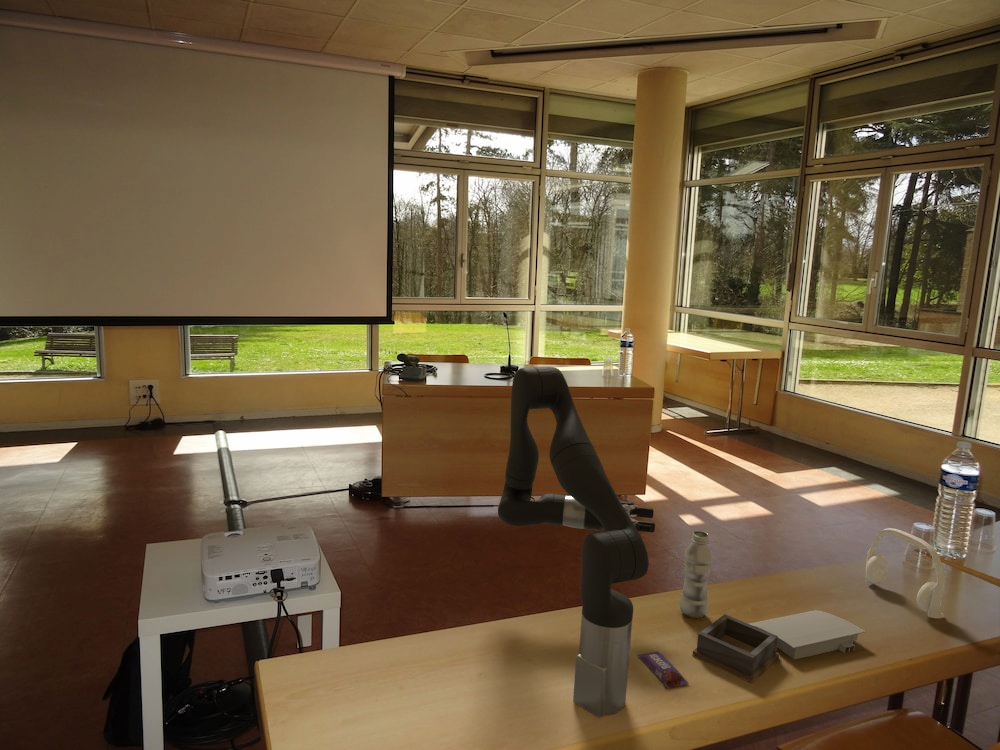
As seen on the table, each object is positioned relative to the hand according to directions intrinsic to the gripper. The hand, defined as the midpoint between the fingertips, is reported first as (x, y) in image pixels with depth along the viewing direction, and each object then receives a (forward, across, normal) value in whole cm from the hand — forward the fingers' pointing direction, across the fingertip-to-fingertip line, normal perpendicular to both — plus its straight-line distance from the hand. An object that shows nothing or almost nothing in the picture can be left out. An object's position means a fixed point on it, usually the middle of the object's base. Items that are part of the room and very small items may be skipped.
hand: (654, 520), depth 162 cm
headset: (+63, +20, +22) cm, 70 cm away
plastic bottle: (+11, 0, +22) cm, 25 cm away
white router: (+35, -5, +23) cm, 42 cm away
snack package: (+3, -25, +23) cm, 34 cm away
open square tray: (+18, -16, +22) cm, 33 cm away
